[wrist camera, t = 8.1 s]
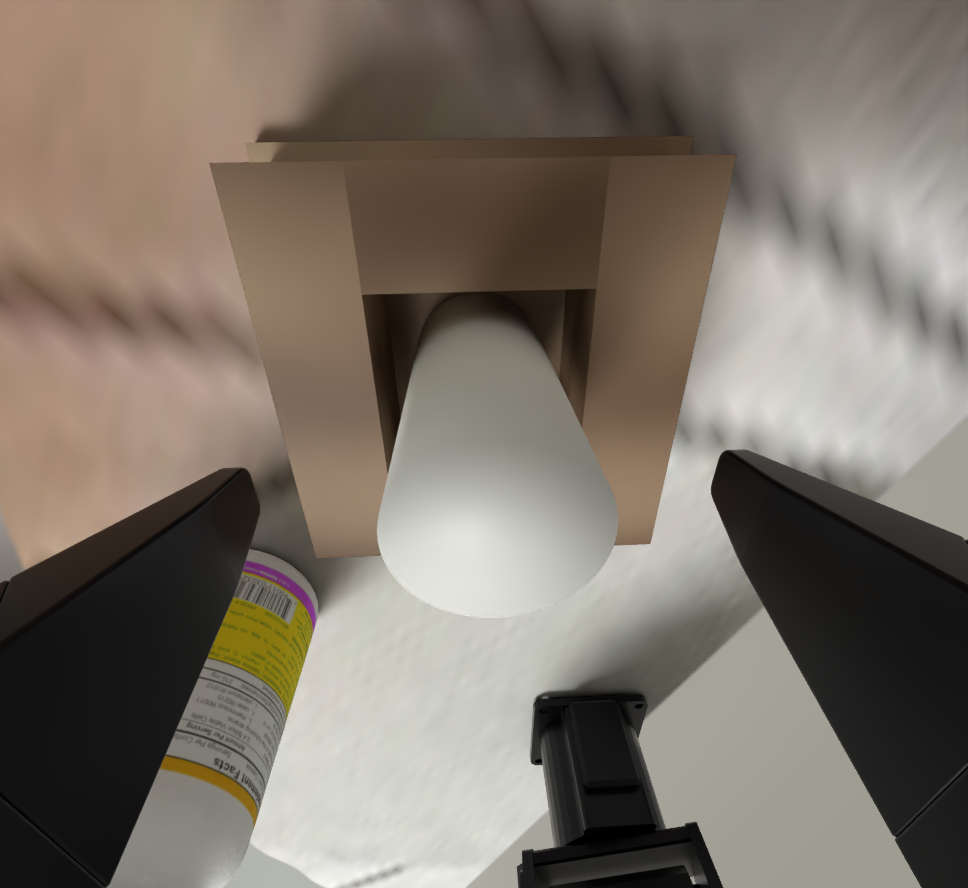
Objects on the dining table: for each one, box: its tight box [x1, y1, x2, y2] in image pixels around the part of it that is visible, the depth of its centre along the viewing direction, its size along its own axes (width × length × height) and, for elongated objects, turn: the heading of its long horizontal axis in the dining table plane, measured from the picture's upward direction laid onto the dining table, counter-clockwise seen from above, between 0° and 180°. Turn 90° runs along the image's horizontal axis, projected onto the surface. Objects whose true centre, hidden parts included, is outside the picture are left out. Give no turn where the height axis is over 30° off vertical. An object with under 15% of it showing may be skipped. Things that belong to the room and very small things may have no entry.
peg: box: [377, 292, 618, 618], centre depth 12 cm, size 4×4×9 cm
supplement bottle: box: [106, 549, 318, 888], centre depth 16 cm, size 7×7×13 cm
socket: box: [209, 136, 737, 558], centre depth 14 cm, size 12×12×4 cm
